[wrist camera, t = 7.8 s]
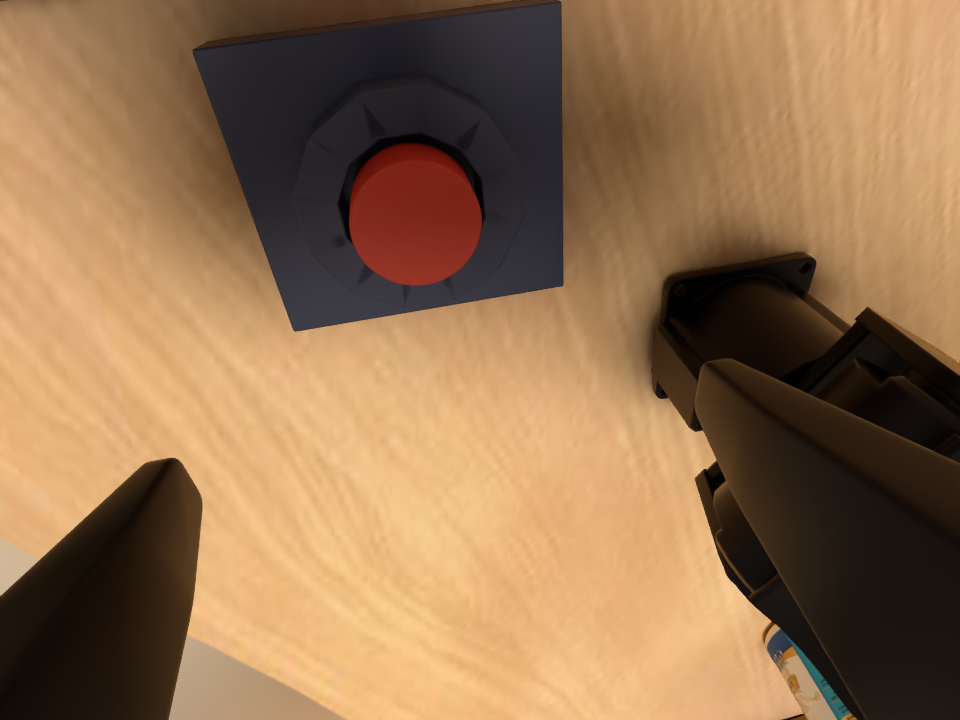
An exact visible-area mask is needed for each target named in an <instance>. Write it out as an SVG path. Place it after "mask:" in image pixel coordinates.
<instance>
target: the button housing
mask: <svg viewBox="0 0 960 720" xmlns="http://www.w3.org/2000/svg"><path fill="white" fill-rule="evenodd" d="M193 55H194V58H195V61H196V63H197V66H198V69H199V72H200V74H201V77H202V80H203V83H204V85H205V88H206V91H207V94H208V96H209V99H210V102H211V105H212V107H213V110H214V113H215V116H216V118H217V121H218V124H219V127H220V129H221V132H222V135H223V138H224V140H225V143H226V146H227V149H228V151H229V154H230V157H231V160H232V162H233V165H234V168H235V171H236V173H237V176H238V179H239V182H240V184H241V187H242V190H243V193H244V195H245V198H246V201H247V204H248V207H249V209H250V212H251V215H252V218H253V220H254V223H255V226H256V229H257V231H258V234H259V237H260V240H261V242H262V245H263V248H264V251H265V253H266V256H267V259H268V262H269V264H270V267H271V270H272V273H273V275H274V278H275V281H276V284H277V286H278V289H279V292H280V295H281V297H282V300H283V303H284V306H285V308H286V311H287V314H288V317H289V319H290V322H291V325H292V328H293V330H294V331H295V332H296V331H302V330H308V329H314V328H319V327H325V326H331V325H337V324H343V323H349V322H355V321H360V320H366V319H372V318H378V317H384V316H390V315H396V314H402V313H407V312H413V311H419V310H425V309H431V308H437V307H443V306H449V305H454V304H460V303H466V302H472V301H478V300H484V299H490V298H496V297H501V296H507V295H513V294H519V293H525V292H531V291H537V290H543V289H548V288H554V287H560V286H563V154H562V21H561V1H558V0H519V1H512V2H504V3H497V4H489V5H481V6H474V7H466V8H459V9H451V10H443V11H436V12H428V13H420V14H413V15H405V16H398V17H390V18H382V19H375V20H367V21H360V22H352V23H344V24H337V25H329V26H321V27H314V28H306V29H299V30H291V31H283V32H276V33H268V34H261V35H253V36H245V37H238V38H230V39H222V40H215V41H208V42H206V43H204V44H202V45H200V46H199V47H197V48H195V49H193ZM401 143H422V144H427V145H430V146H433V147H436V148H438V149H440V150H442V151H444V152H445V153H447V154H448V155H450V156H451V157H452V158H453V159H454V160H455V161H456V162H457V163H458V164H459V165H460V166H461V168H462V169H463V171H464V172H465V174H466V176H467V178H468V180H469V182H470V184H471V186H472V189H473V191H474V193H475V195H476V198H477V200H478V203H479V206H480V210H481V216H482V228H481V235H480V239H479V242H478V245H477V247H476V249H475V251H474V253H473V255H472V256H471V258H470V259H469V260H468V262H467V263H466V264H465V265H464V266H463V267H462V268H461V269H460V270H458V271H457V272H456V273H454V274H453V275H451V276H450V277H448V278H446V279H444V280H442V281H439V282H436V283H432V284H428V285H419V286H418V285H404V284H399V283H395V282H393V281H390V280H387V279H386V278H384V277H382V276H380V275H378V274H377V273H376V272H374V271H373V270H372V269H371V268H369V267H368V266H367V265H366V264H365V262H364V261H363V260H362V259H361V257H360V256H359V254H358V253H357V251H356V249H355V247H354V245H353V242H352V239H351V234H350V227H349V216H350V201H351V191H352V187H353V183H354V181H355V178H356V176H357V174H358V172H359V171H360V169H361V168H362V166H363V165H364V164H365V163H366V162H367V161H368V160H369V159H370V158H371V157H372V156H373V155H375V154H376V153H377V152H379V151H381V150H383V149H385V148H387V147H390V146H392V145H396V144H401Z"/></svg>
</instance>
